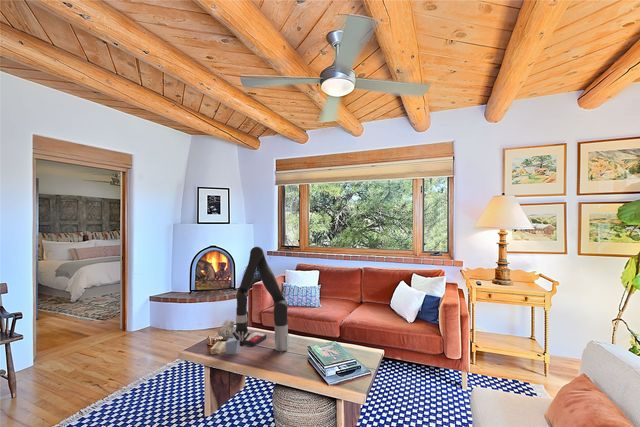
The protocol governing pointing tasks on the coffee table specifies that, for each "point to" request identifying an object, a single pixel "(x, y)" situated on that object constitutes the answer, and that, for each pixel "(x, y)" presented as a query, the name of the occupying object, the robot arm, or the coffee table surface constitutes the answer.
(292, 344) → the coffee table surface
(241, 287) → the robot arm
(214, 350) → the tan lumpy piece
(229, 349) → the block
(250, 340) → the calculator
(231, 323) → the fossil
